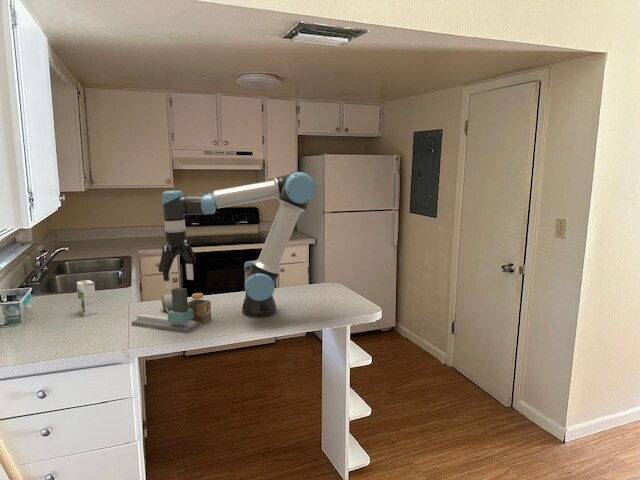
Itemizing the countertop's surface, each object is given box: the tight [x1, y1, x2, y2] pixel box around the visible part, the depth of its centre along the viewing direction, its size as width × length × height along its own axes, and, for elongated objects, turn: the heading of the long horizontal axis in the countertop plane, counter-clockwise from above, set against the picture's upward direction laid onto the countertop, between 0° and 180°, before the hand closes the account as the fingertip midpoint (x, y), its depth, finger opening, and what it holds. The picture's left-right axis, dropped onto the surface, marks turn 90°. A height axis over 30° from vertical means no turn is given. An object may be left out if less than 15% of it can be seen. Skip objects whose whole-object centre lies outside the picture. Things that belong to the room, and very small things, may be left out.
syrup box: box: [76, 279, 98, 317], centre depth 194 cm, size 6×6×14 cm
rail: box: [131, 313, 202, 334], centre depth 180 cm, size 27×9×3 cm, turn 70°
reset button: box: [191, 292, 204, 300], centre depth 184 cm, size 4×4×1 cm
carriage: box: [167, 287, 194, 324], centre depth 176 cm, size 7×7×13 cm
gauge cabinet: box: [188, 299, 212, 325], centre depth 185 cm, size 9×6×8 cm
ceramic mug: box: [161, 293, 173, 313], centre depth 198 cm, size 11×8×8 cm
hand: (179, 284), depth 175 cm, fingers open, 13 cm apart
